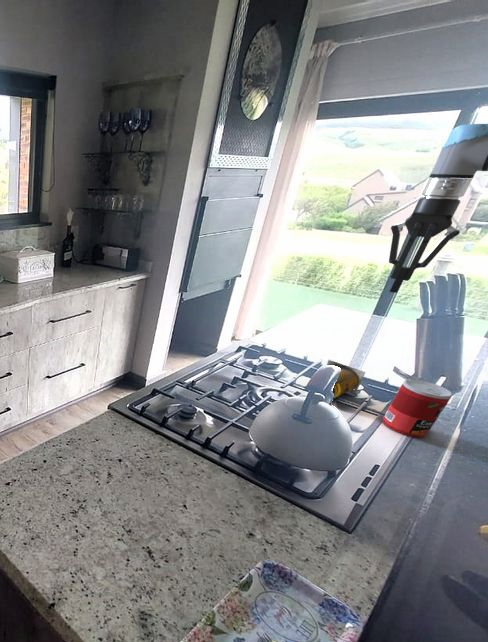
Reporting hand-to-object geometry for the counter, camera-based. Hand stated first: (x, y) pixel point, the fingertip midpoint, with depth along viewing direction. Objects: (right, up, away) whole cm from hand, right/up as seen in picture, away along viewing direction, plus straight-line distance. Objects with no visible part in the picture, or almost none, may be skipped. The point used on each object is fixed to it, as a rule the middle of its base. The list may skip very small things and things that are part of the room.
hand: (393, 291), depth 110 cm
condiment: (-15, -24, -1) cm, 28 cm away
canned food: (-13, -36, -15) cm, 41 cm away
